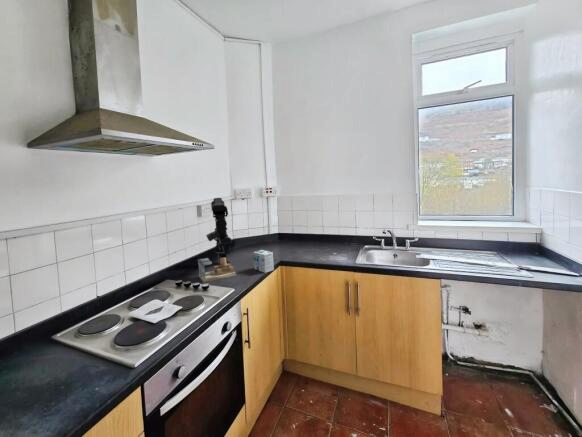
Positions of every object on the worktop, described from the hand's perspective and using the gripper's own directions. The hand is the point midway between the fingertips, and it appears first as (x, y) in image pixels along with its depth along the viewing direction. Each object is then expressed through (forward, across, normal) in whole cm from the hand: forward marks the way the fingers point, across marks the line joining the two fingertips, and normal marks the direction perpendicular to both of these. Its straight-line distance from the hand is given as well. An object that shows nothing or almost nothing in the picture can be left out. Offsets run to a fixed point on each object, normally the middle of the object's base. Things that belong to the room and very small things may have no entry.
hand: (223, 252), depth 163 cm
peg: (+10, +3, -2) cm, 11 cm away
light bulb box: (+12, +10, +21) cm, 26 cm away
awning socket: (+12, +3, -5) cm, 14 cm away
